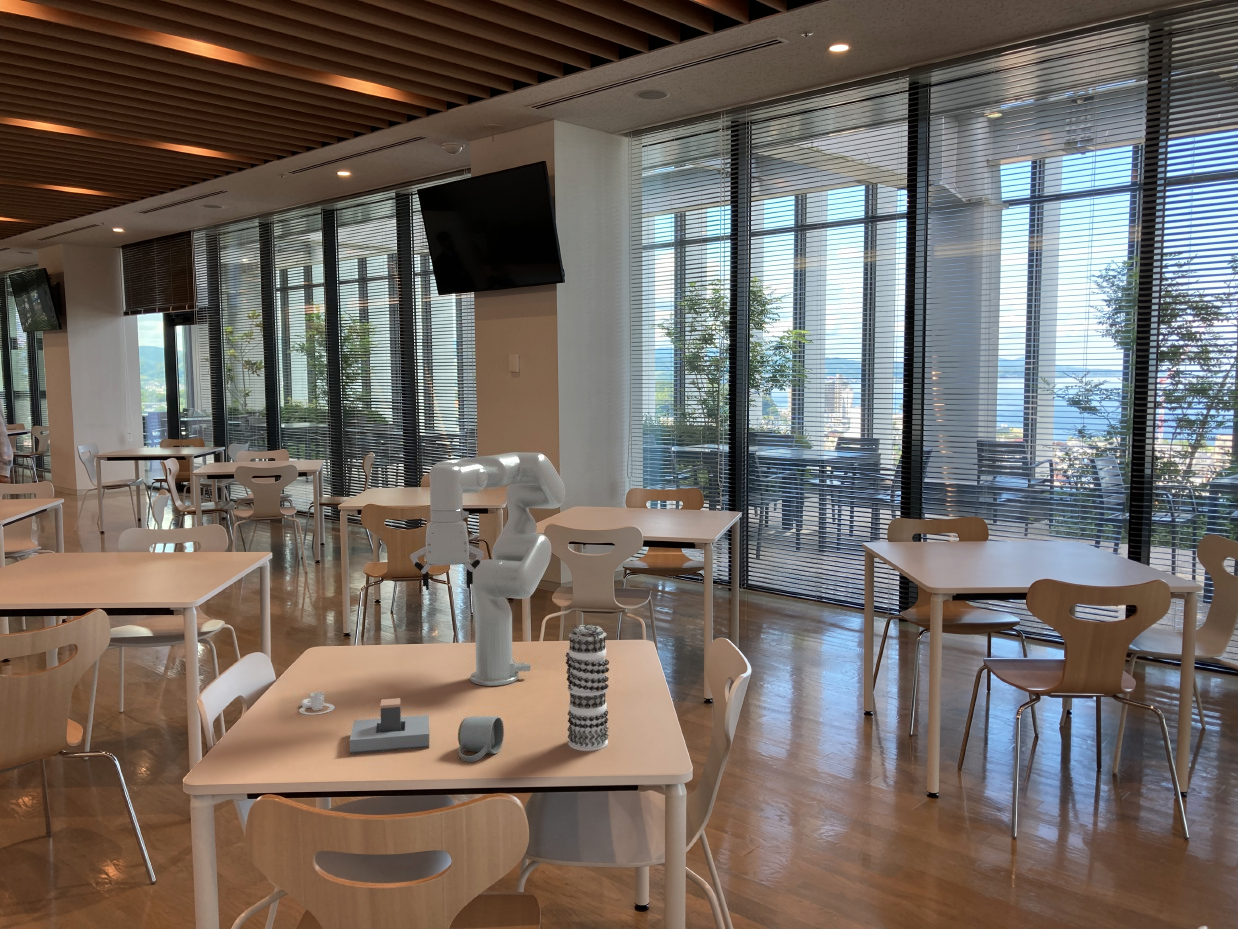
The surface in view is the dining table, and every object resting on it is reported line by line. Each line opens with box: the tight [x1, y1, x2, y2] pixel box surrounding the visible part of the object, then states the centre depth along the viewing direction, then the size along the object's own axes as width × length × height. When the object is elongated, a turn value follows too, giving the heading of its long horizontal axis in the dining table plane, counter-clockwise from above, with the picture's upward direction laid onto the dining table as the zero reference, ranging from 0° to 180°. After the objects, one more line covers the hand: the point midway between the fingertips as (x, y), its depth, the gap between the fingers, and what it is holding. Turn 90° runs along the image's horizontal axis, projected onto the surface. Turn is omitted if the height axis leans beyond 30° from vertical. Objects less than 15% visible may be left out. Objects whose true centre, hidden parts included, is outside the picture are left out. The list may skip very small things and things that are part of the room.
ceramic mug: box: [457, 715, 505, 763], centre depth 185 cm, size 10×8×7 cm
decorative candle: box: [565, 624, 610, 752], centre depth 190 cm, size 9×9×25 cm
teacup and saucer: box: [299, 691, 336, 716], centre depth 214 cm, size 9×8×4 cm
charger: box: [380, 697, 402, 733], centre depth 193 cm, size 4×4×8 cm
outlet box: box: [349, 714, 430, 755], centre depth 193 cm, size 16×12×3 cm
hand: (447, 588), depth 214 cm, fingers open, 9 cm apart
